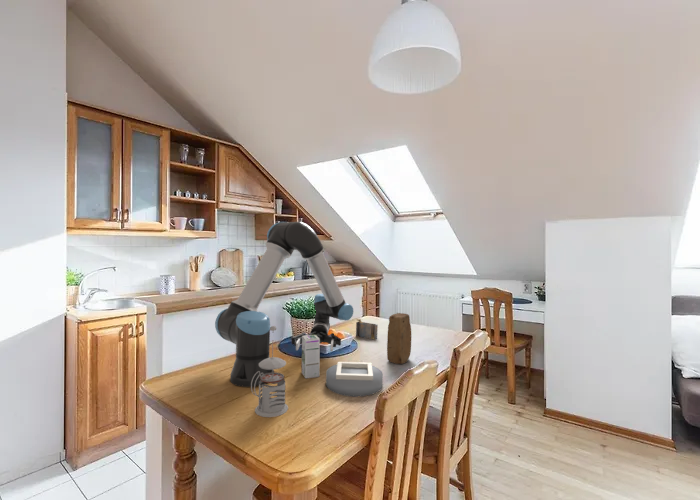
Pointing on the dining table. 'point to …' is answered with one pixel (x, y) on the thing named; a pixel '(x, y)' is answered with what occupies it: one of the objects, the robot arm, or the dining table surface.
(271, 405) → the french press
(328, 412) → the dining table surface
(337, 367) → the tower base
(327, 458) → the dining table surface
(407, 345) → the block
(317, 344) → the syrup box
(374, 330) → the ruin model on sheet
